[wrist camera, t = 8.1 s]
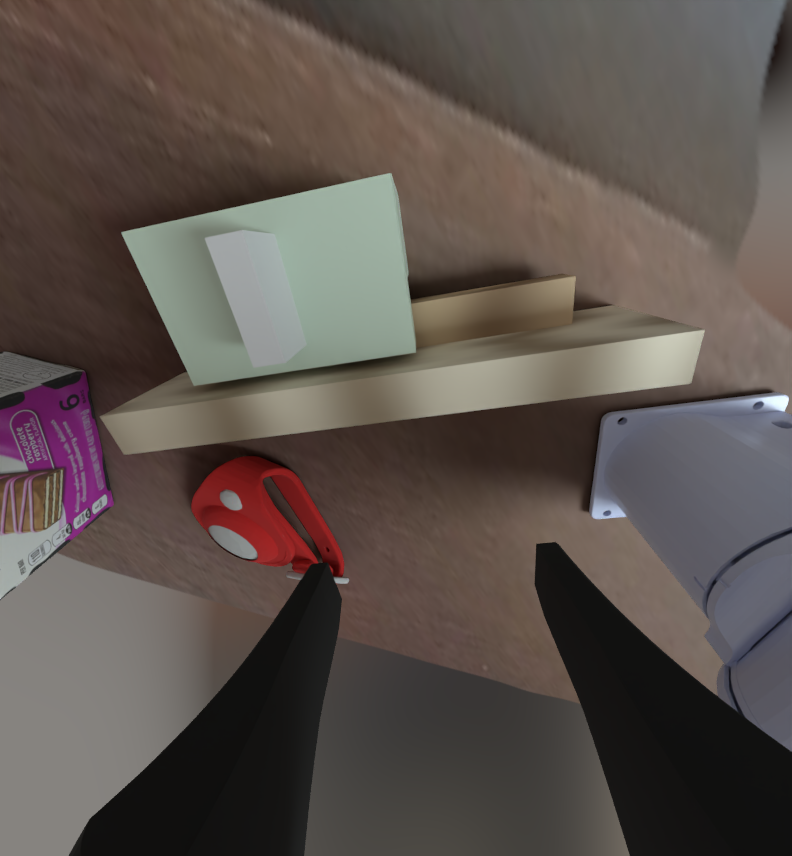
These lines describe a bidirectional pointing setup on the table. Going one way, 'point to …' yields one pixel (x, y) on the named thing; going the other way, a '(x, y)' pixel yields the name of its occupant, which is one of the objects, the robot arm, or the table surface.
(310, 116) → the table surface
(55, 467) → the candy bar box
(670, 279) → the table surface
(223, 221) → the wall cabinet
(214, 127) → the table surface
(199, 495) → the tracker holder
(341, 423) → the wall board
